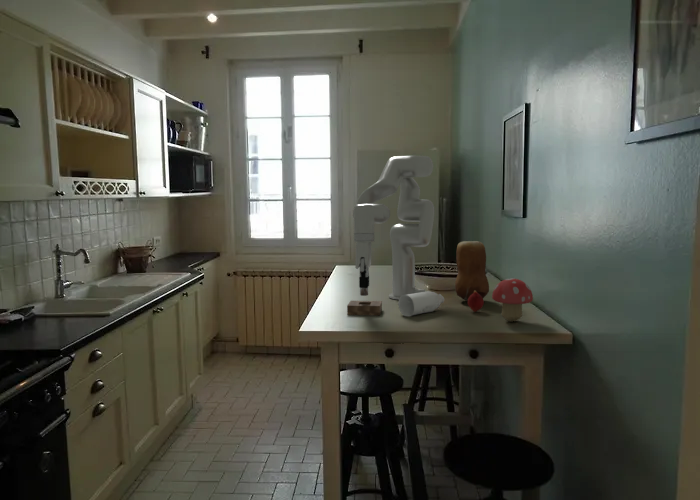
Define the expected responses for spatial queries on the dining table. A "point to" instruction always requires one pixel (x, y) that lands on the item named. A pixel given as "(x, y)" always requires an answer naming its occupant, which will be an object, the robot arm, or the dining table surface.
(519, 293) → the decorative mushroom
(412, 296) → the white plastic bottle
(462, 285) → the butternut squash
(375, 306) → the hole block
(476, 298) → the onion
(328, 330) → the dining table surface
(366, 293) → the peg
